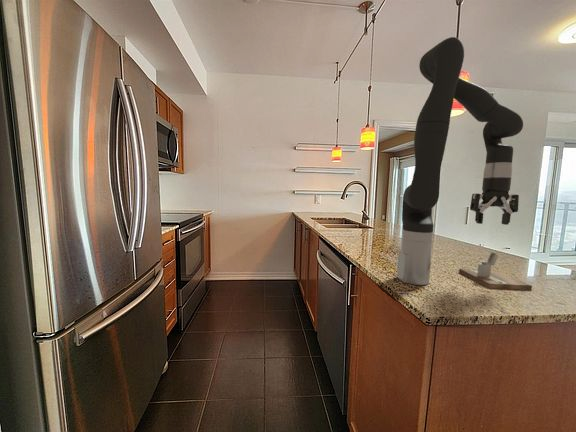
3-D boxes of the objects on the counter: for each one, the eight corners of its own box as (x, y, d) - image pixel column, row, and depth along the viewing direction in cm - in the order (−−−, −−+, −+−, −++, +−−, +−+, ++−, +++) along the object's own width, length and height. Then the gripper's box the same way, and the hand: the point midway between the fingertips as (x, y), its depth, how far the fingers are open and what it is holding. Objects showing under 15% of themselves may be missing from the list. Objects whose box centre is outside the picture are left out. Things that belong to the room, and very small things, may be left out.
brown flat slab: (489, 288, 83) (489, 282, 83) (459, 272, 99) (459, 268, 98) (531, 289, 82) (532, 284, 82) (494, 273, 98) (494, 269, 98)
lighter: (482, 277, 88) (484, 254, 88) (476, 275, 90) (479, 253, 89) (496, 275, 91) (498, 253, 90) (491, 274, 92) (493, 252, 91)
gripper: (482, 175, 85) (477, 224, 87) (528, 176, 84) (522, 226, 86) (468, 177, 92) (464, 222, 94) (510, 178, 92) (505, 223, 93)
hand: (492, 223), depth 90 cm, fingers open, 8 cm apart
